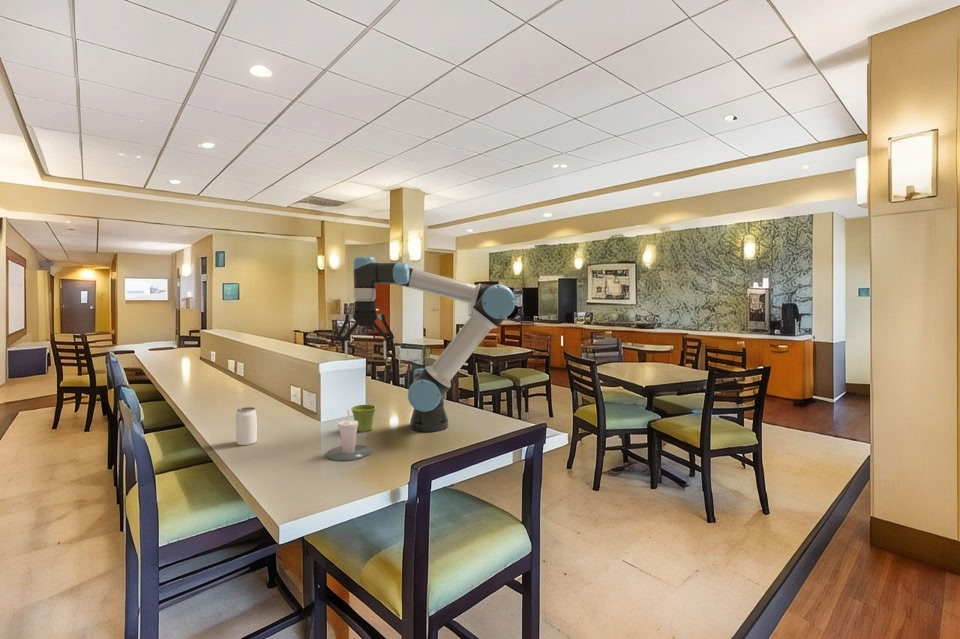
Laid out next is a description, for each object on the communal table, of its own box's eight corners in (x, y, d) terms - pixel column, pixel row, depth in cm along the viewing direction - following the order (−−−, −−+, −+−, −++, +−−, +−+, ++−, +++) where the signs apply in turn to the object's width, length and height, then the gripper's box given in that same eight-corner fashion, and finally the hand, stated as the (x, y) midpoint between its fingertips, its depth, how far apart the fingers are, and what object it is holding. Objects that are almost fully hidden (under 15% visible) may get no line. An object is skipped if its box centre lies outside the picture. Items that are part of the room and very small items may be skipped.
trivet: (370, 444, 161) (370, 443, 161) (371, 458, 147) (371, 457, 147) (327, 448, 157) (327, 446, 157) (324, 462, 144) (324, 461, 144)
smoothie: (339, 456, 148) (339, 412, 147) (337, 449, 154) (336, 408, 153) (360, 453, 150) (359, 410, 150) (357, 447, 156) (356, 406, 156)
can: (232, 444, 161) (231, 410, 160) (247, 439, 167) (246, 406, 166) (246, 446, 159) (245, 412, 158) (261, 441, 165) (260, 407, 164)
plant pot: (374, 433, 174) (374, 410, 174) (349, 433, 174) (348, 410, 173) (378, 425, 184) (377, 404, 183) (354, 426, 183) (353, 404, 182)
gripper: (399, 300, 173) (399, 356, 174) (329, 300, 167) (330, 358, 168) (400, 300, 166) (401, 359, 167) (327, 300, 159) (328, 361, 161)
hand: (365, 359), depth 167 cm, fingers open, 13 cm apart
